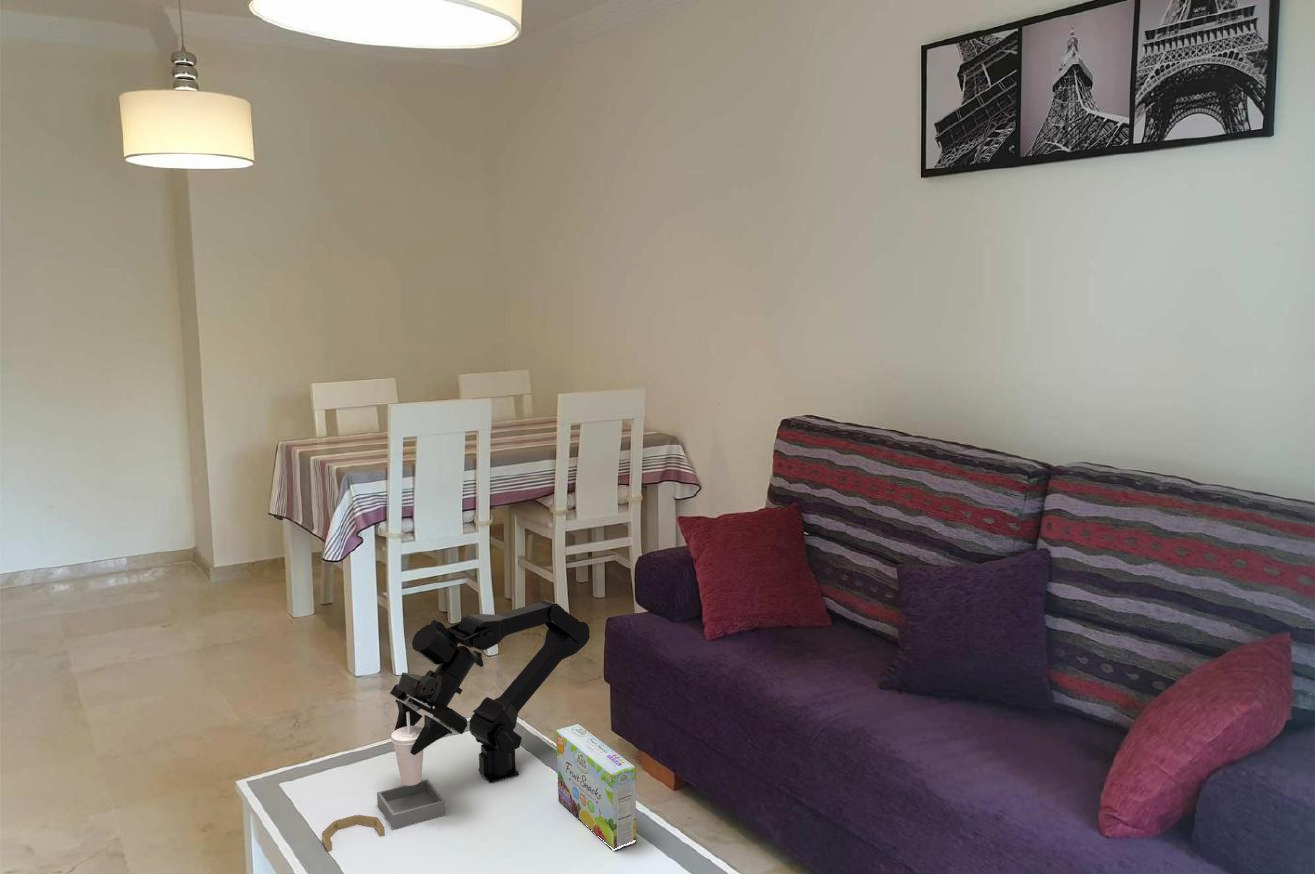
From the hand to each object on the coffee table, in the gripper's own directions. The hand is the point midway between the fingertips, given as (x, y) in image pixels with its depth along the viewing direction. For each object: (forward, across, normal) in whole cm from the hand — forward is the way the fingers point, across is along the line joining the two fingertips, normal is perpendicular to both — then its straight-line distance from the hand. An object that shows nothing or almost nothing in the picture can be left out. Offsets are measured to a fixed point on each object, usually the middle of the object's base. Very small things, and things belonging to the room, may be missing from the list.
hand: (402, 748), depth 189 cm
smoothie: (+4, 0, +6) cm, 7 cm away
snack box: (-6, +28, +26) cm, 39 cm away
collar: (+17, -1, +1) cm, 17 cm away
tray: (+8, 0, +10) cm, 13 cm away
